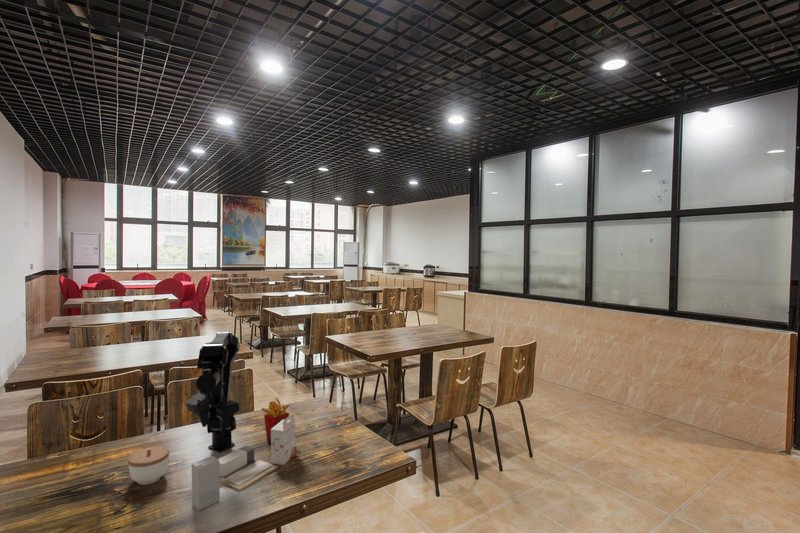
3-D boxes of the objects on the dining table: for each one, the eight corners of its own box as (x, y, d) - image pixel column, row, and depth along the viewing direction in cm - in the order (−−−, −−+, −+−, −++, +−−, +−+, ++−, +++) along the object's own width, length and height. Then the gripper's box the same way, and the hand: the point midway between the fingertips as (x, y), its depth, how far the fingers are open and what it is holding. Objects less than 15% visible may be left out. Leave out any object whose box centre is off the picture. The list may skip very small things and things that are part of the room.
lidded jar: (126, 492, 119) (125, 461, 119) (130, 474, 128) (130, 445, 128) (168, 483, 124) (168, 453, 123) (169, 467, 133) (169, 438, 133)
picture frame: (196, 472, 130) (196, 469, 130) (235, 452, 143) (235, 450, 143) (239, 491, 120) (239, 487, 120) (277, 468, 133) (277, 465, 133)
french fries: (289, 439, 154) (290, 399, 154) (272, 447, 147) (272, 406, 147) (273, 433, 159) (274, 395, 158) (256, 441, 152) (256, 401, 151)
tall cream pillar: (214, 473, 128) (214, 460, 128) (245, 456, 138) (245, 445, 138) (223, 477, 126) (223, 464, 126) (254, 459, 136) (254, 448, 136)
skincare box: (213, 495, 118) (212, 454, 118) (220, 502, 115) (220, 459, 115) (190, 505, 113) (190, 462, 113) (198, 512, 110) (197, 468, 110)
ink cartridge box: (282, 451, 144) (282, 410, 144) (295, 453, 143) (295, 411, 143) (270, 464, 136) (270, 420, 136) (283, 465, 135) (283, 421, 135)
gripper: (171, 384, 131) (172, 432, 131) (209, 394, 122) (210, 446, 122) (203, 375, 141) (203, 420, 141) (240, 384, 132) (240, 432, 132)
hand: (213, 429), depth 134 cm, fingers open, 9 cm apart
